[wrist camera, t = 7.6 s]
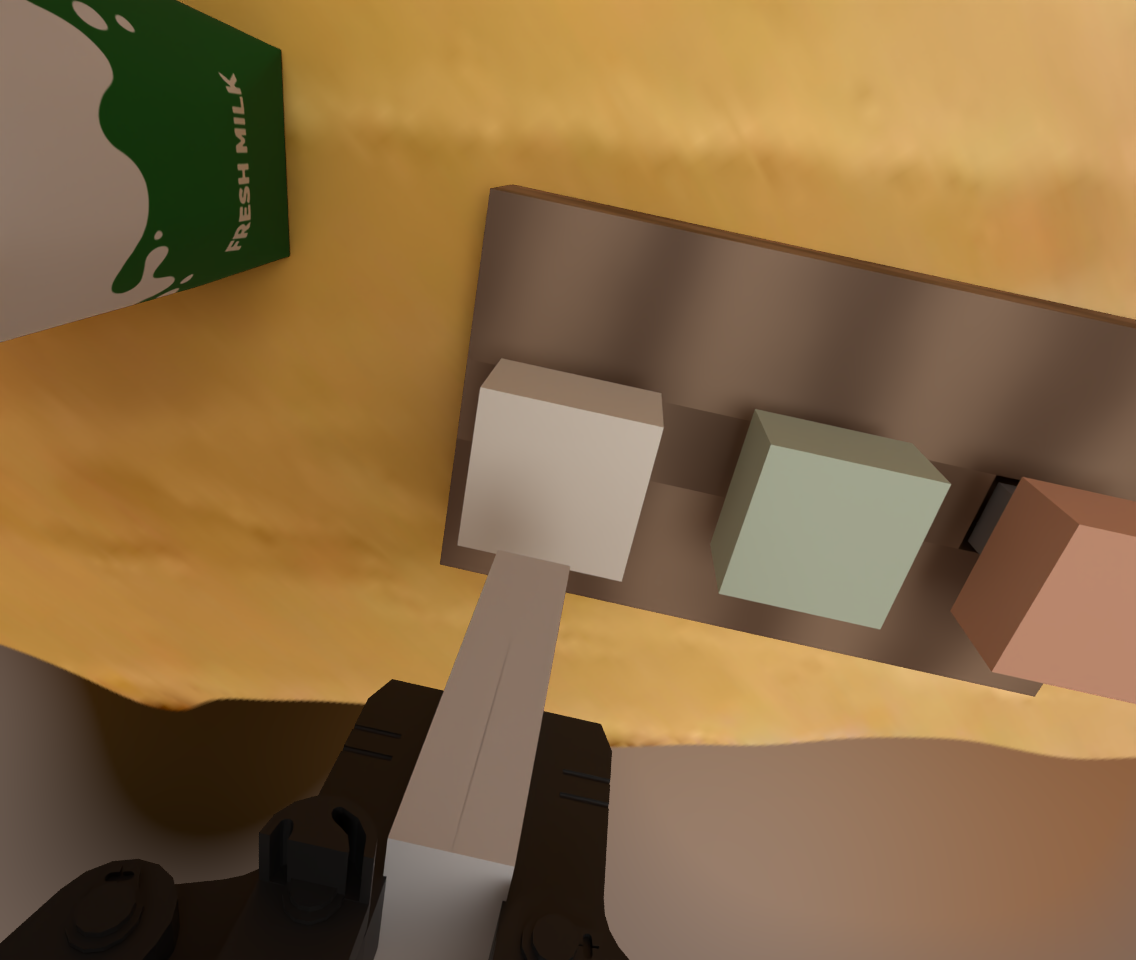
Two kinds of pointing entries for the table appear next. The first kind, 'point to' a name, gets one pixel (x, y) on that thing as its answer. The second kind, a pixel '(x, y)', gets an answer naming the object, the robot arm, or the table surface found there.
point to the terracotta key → (1055, 588)
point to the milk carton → (132, 156)
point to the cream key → (559, 467)
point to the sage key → (823, 519)
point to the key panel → (796, 396)
